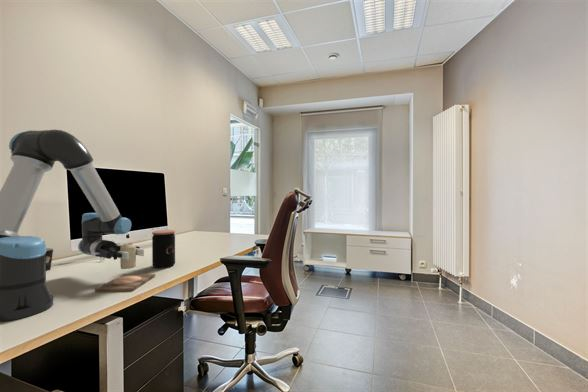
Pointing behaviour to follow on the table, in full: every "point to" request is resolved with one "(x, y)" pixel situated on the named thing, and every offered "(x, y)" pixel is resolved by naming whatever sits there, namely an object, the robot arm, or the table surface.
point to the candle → (132, 256)
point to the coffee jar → (163, 248)
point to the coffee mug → (48, 258)
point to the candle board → (125, 283)
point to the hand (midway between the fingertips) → (135, 254)
